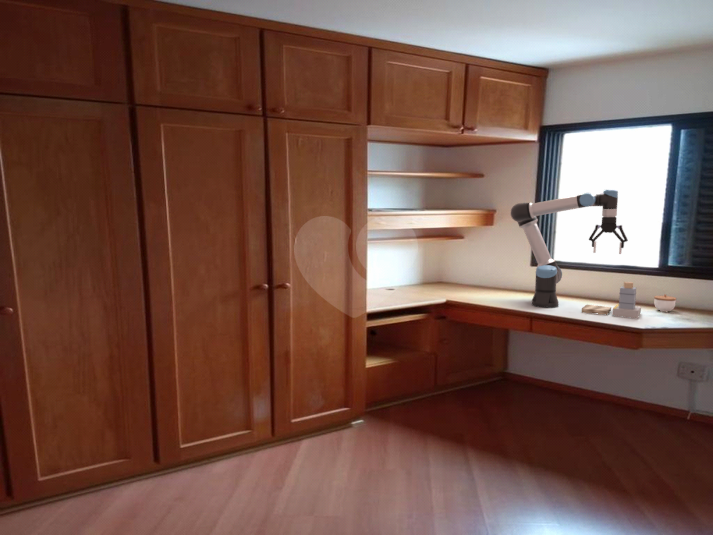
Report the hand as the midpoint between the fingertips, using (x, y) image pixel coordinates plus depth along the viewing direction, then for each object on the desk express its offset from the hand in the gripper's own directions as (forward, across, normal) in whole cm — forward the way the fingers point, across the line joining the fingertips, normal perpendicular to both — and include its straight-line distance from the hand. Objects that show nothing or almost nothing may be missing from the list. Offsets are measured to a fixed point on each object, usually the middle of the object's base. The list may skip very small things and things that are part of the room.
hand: (607, 253), depth 297 cm
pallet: (+32, +1, +18) cm, 36 cm away
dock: (+32, -14, +17) cm, 39 cm away
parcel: (+17, -14, +17) cm, 28 cm away
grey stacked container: (+28, -14, +17) cm, 35 cm away
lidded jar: (+32, -30, -7) cm, 44 cm away
